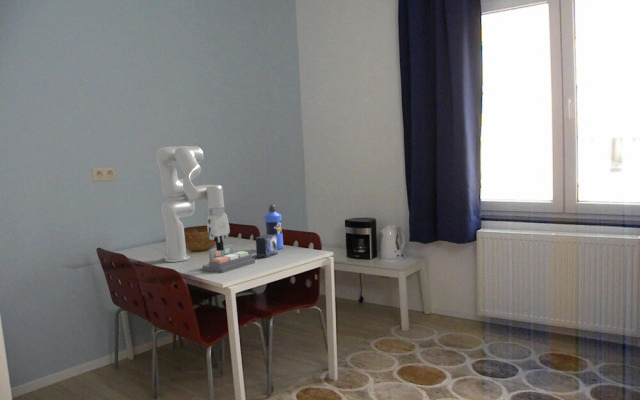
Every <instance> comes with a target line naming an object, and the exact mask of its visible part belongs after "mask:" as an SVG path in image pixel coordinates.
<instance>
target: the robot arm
mask: <svg viewBox="0 0 640 400" xmlns="http://www.w3.org/2000/svg"><path fill="white" fill-rule="evenodd" d="M203 160H204V151H203V149H202V148H201V147H199V146H197V145H180V146H179V145H177V146H165V147H161V148H159V149H158V150H157V151H156V155H155V161H156V164H157V166H158V170H159V172H160V183H161V192H162V195H163V196H164V198H166V199H175V198H181V199H175V200H167V201H165V202H163V203H162V205H161V208H160V210H161V215H162V219H163V223H164V230H165V240H166V241H165V242H166V252H165V253H164V255H165V256H166V258H164V261H165V262H166V263H178V262H179V263H180V262H183V261H187V260H190V258H191V257H190V255H188V254H187V247H186V237H185V226H184V224H183V223H182V221H181V218H187V217H191V216H193V215H194V214H195V211H196V210H195V209H196V203H201V202H206V203H207V211H206V214H208V215H207V227H206V228H207V235H208V239H209V240H212V241H213V242H215V247H216V248H217V251H222V250H224V247H223V246H224V242H225V238H227V237H228V236H229V234H230V232H231V230H230V229H231V228H230V224H229V223H230V222H229V218H228V215H227V213H226V212H225V201H224V200H225V198H224V190H223V186H222V185H220V184H202V185H201V184H200V185H194V184H193V182H192V180H193V179H195V178H196V177H198V176H199V175H200V174H201V172H202V167H201V166H200V164H199V163H201V162H202V161H203ZM174 164H178V166H179V168H180V169H181V170H182V171H181V172H183V174H184V175H183V178H179V177H178V171H177V168H176V167H175V166H174Z"/></svg>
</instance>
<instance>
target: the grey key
mask: <svg viewBox="0 0 640 400" xmlns="http://www.w3.org/2000/svg"><path fill="white" fill-rule="evenodd" d="M223 257H228V260H233V259H236V258H238V255H237V254H229V255H225V256H223Z"/></svg>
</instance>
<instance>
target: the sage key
mask: <svg viewBox="0 0 640 400" xmlns="http://www.w3.org/2000/svg"><path fill="white" fill-rule="evenodd" d="M233 254H237V255H238V257H243V256H247V255H248V254H249V252H248V251H242V250H241V251H237V252H236V251H235V252H233Z"/></svg>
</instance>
